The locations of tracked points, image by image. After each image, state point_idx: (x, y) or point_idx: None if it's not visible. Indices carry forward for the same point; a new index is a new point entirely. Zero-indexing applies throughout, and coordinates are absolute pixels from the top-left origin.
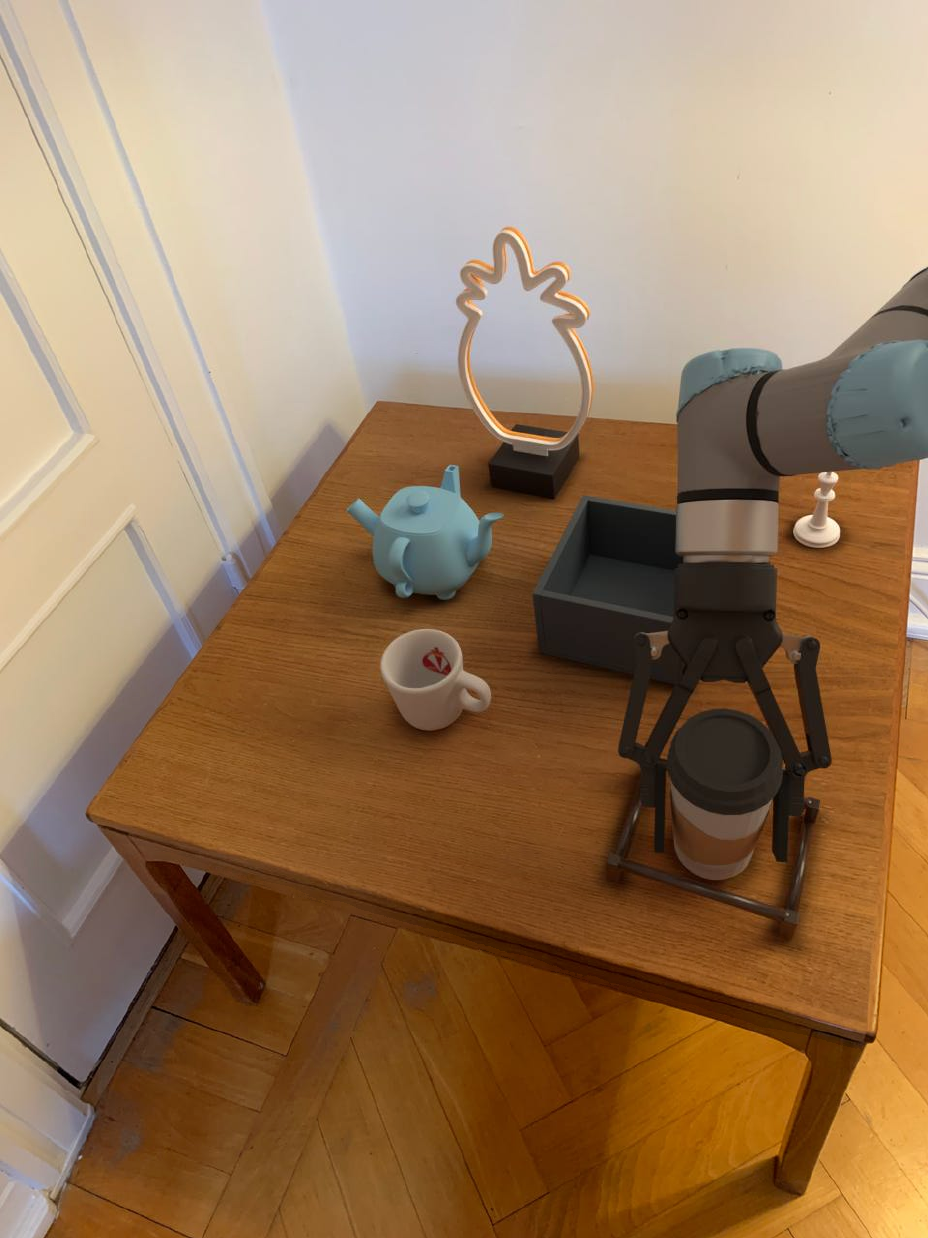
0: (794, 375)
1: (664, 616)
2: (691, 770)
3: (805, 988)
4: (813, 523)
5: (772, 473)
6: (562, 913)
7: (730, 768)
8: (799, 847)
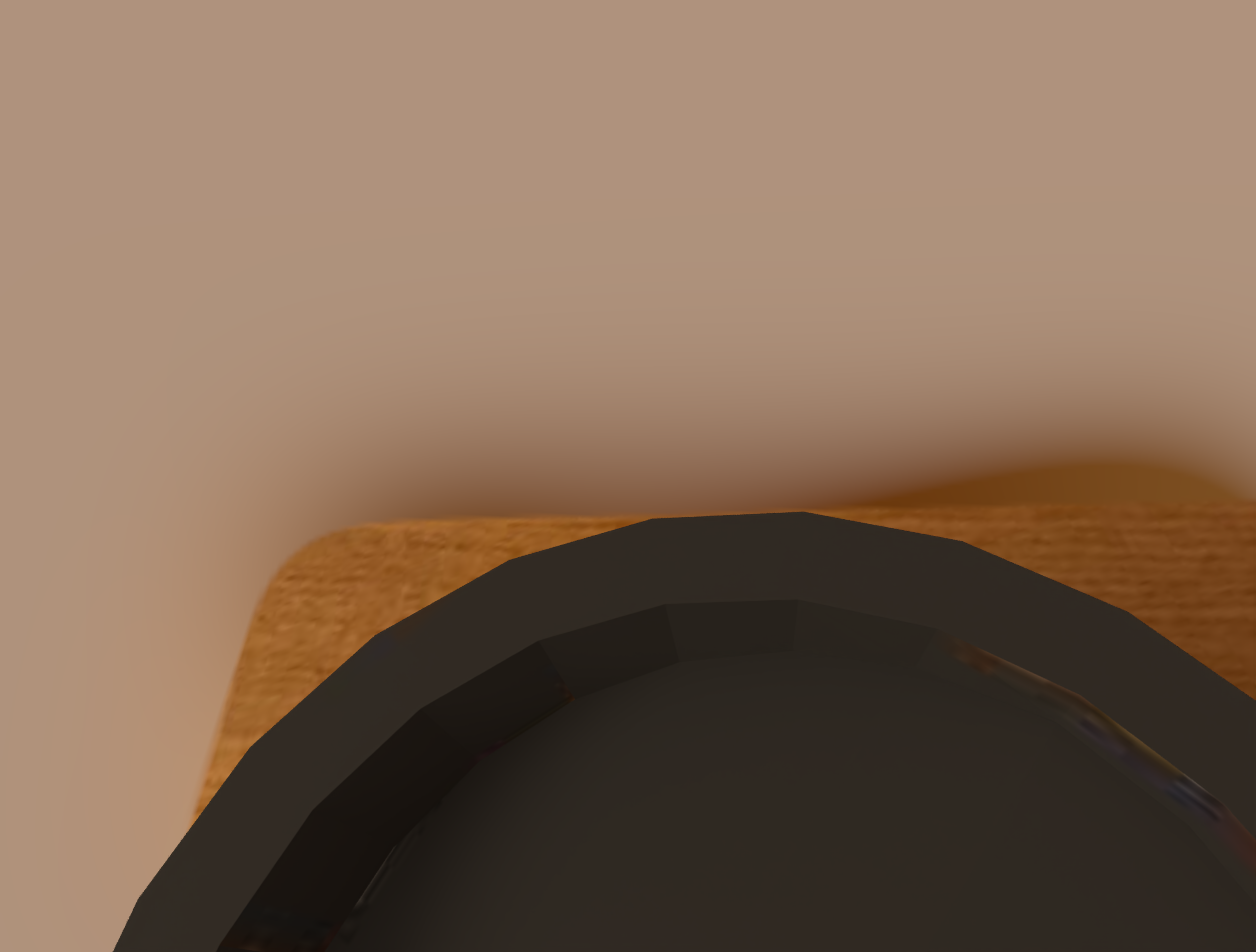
0: None
1: None
2: (1135, 703)
3: (419, 571)
4: None
5: None
6: (1236, 583)
7: (662, 940)
8: None
